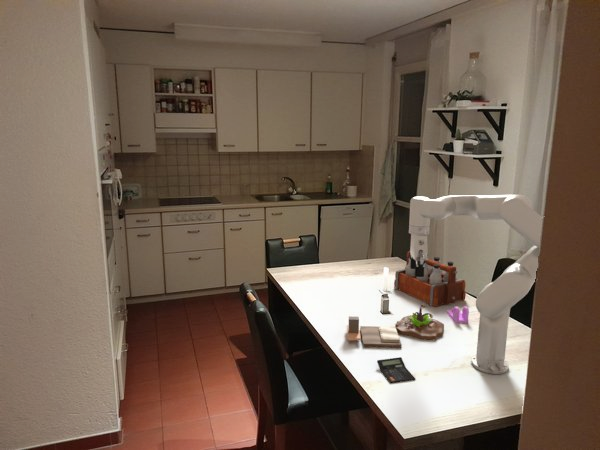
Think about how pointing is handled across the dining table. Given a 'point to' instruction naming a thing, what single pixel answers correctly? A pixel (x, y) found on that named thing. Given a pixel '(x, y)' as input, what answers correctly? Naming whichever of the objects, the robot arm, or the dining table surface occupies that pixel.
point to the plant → (420, 326)
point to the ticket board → (380, 337)
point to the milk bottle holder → (431, 282)
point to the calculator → (395, 370)
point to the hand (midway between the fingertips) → (416, 272)
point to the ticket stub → (353, 329)
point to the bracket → (459, 314)
